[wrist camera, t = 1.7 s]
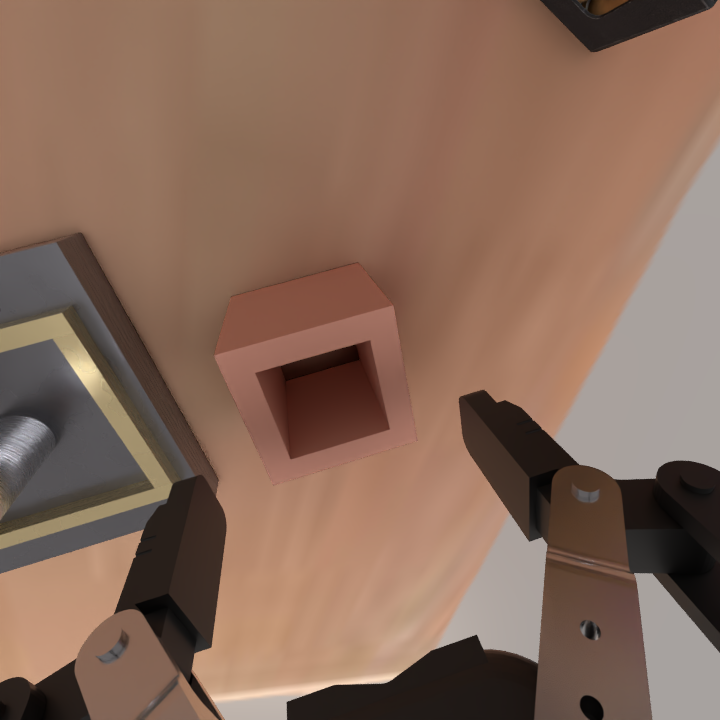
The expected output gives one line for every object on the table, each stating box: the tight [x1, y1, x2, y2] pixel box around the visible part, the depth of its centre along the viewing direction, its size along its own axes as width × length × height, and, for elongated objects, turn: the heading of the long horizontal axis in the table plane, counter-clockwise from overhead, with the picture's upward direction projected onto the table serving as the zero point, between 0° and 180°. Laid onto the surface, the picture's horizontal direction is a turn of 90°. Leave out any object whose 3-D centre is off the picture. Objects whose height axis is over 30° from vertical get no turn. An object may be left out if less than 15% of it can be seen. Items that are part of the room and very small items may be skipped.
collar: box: [214, 263, 418, 485], centre depth 17 cm, size 6×6×6 cm
